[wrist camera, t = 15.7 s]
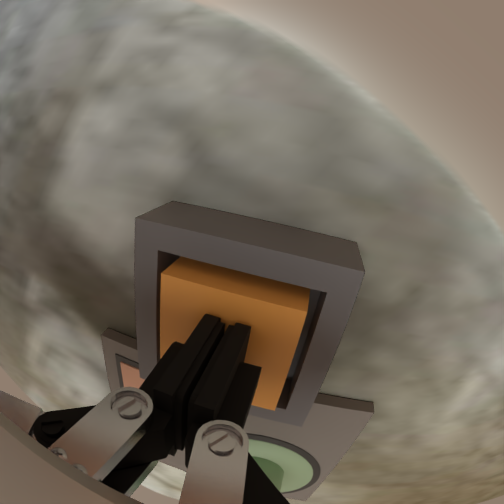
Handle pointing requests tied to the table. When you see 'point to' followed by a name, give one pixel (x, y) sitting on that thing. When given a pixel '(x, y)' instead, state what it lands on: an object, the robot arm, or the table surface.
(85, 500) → the robot arm
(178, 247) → the button housing
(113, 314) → the table surface
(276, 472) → the green capped cylinder
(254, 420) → the colouring board
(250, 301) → the button
